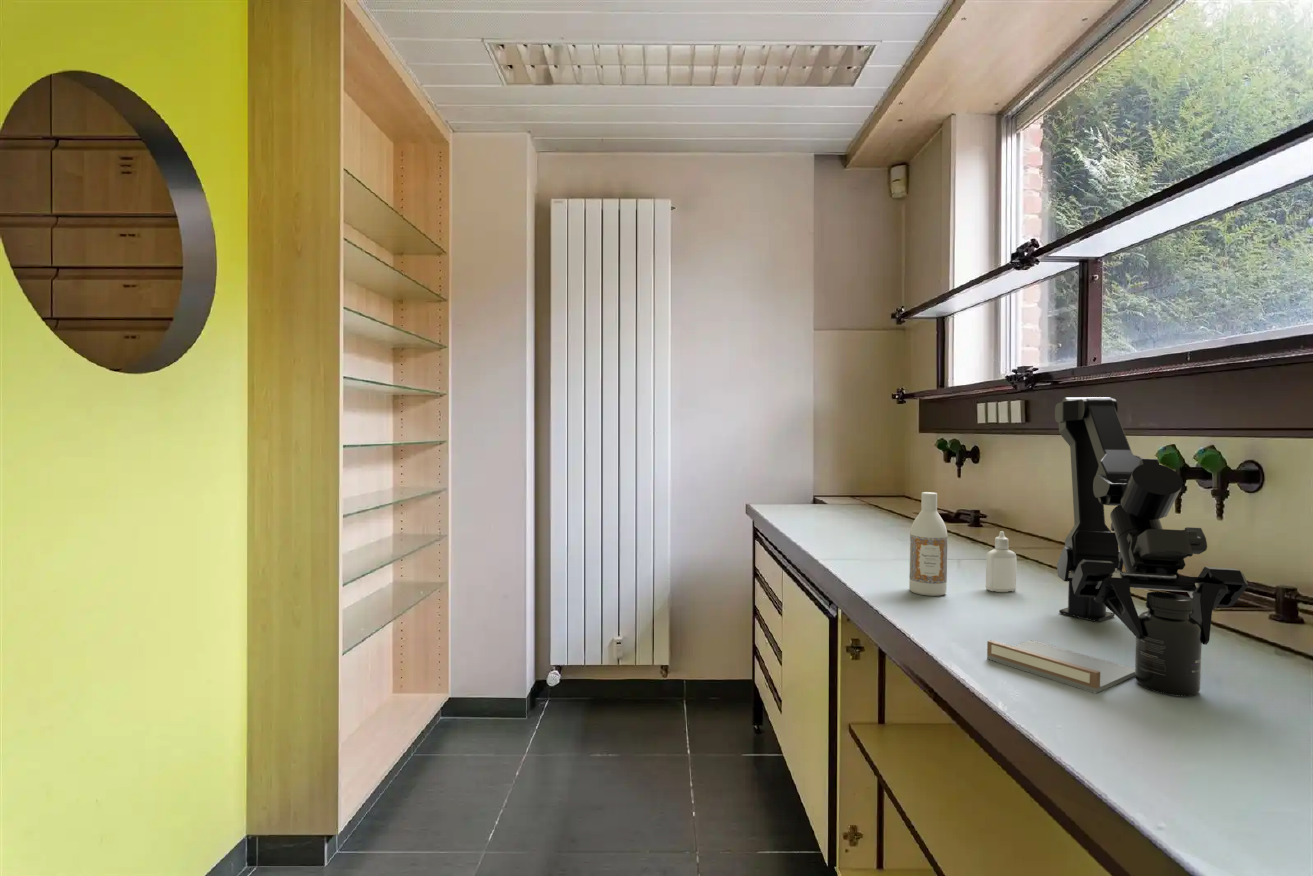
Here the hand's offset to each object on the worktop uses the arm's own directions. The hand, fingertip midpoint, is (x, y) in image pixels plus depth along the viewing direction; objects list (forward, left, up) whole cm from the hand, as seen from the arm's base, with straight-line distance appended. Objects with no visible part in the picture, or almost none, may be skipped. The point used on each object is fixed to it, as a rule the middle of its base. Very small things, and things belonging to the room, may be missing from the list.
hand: (1173, 640), depth 87 cm
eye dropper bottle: (-31, -40, -7) cm, 51 cm away
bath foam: (-17, -47, -7) cm, 51 cm away
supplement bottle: (-1, -1, -7) cm, 7 cm away
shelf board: (+3, -12, -7) cm, 14 cm away
